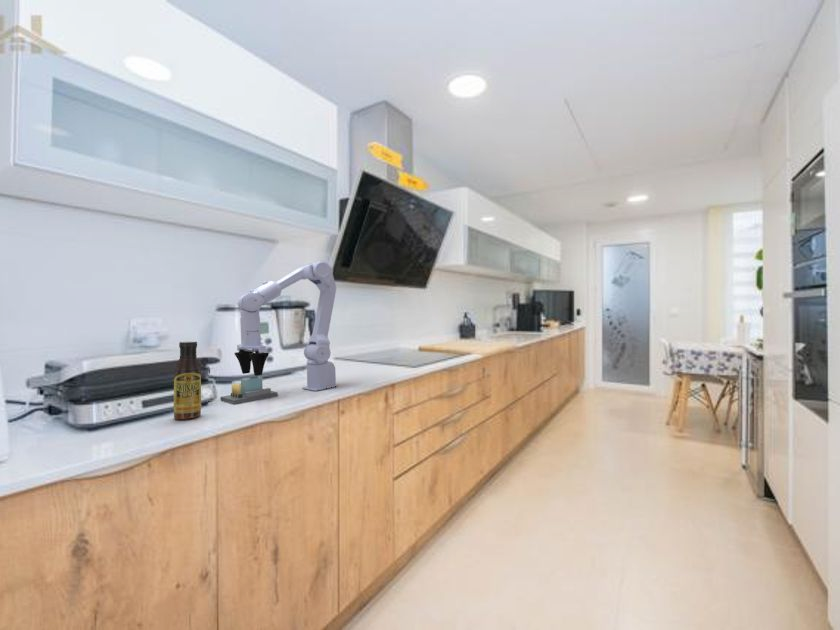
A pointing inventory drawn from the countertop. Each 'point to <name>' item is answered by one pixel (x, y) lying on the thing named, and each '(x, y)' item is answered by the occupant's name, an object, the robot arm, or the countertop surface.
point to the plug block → (251, 384)
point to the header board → (247, 395)
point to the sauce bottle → (187, 383)
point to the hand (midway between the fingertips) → (252, 374)
